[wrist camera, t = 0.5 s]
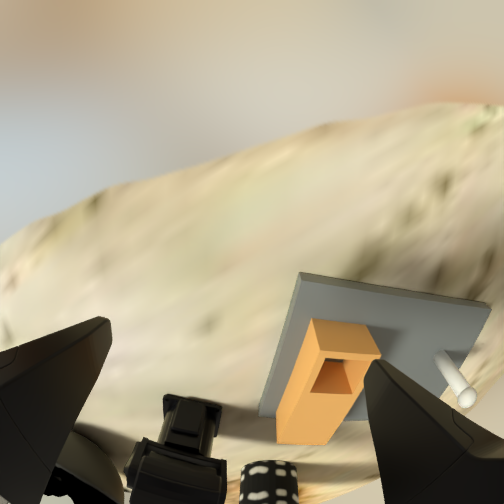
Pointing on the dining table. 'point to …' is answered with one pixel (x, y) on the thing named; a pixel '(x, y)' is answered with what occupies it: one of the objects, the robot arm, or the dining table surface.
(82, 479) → the coal bowl
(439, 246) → the dining table surface
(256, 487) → the spotted tube
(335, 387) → the orange rectangular block
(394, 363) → the keeper board
